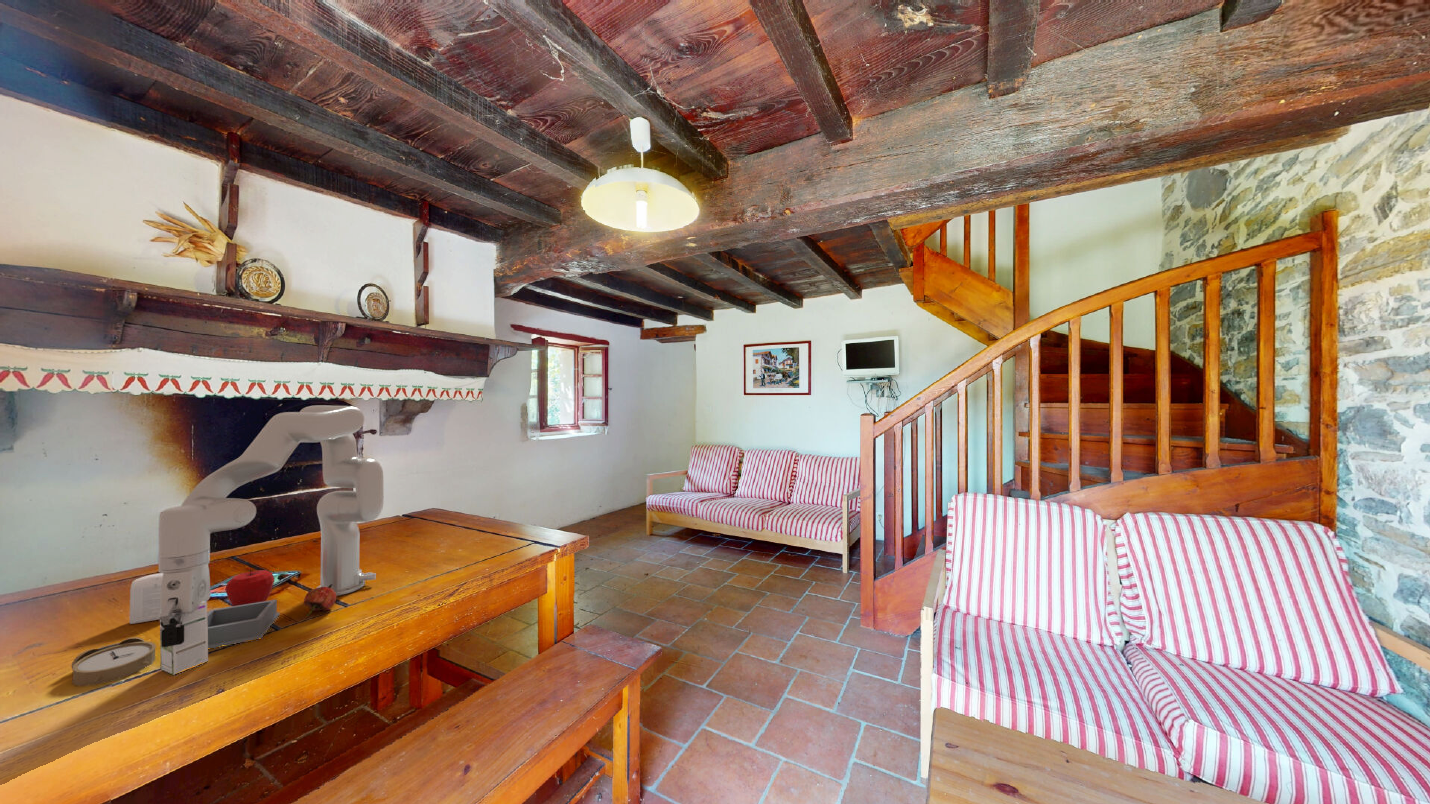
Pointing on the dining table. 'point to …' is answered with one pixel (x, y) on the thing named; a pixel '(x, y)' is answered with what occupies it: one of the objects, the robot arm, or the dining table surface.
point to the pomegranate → (320, 599)
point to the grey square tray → (240, 622)
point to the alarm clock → (112, 661)
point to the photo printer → (145, 598)
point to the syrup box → (187, 643)
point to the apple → (250, 587)
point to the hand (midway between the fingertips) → (184, 634)
